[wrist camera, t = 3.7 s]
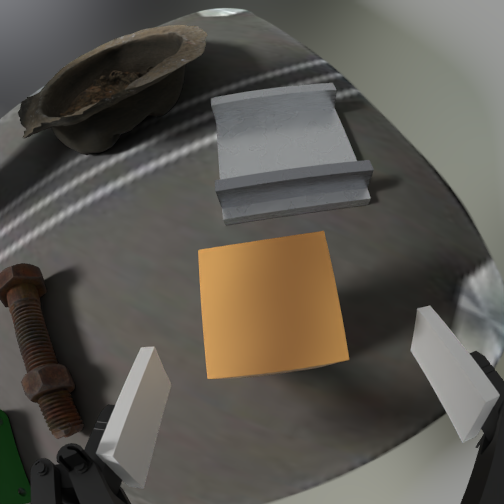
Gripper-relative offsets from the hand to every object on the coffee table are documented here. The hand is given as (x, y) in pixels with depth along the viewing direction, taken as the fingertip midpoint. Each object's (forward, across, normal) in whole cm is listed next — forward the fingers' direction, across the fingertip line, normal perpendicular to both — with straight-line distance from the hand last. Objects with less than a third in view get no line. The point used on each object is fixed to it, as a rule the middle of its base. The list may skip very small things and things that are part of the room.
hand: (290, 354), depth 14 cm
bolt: (+6, -21, -4) cm, 22 cm away
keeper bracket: (+17, +2, +7) cm, 18 cm away
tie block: (+6, -1, -4) cm, 7 cm away
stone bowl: (+28, -16, +18) cm, 37 cm away
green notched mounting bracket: (-2, -30, -13) cm, 33 cm away
